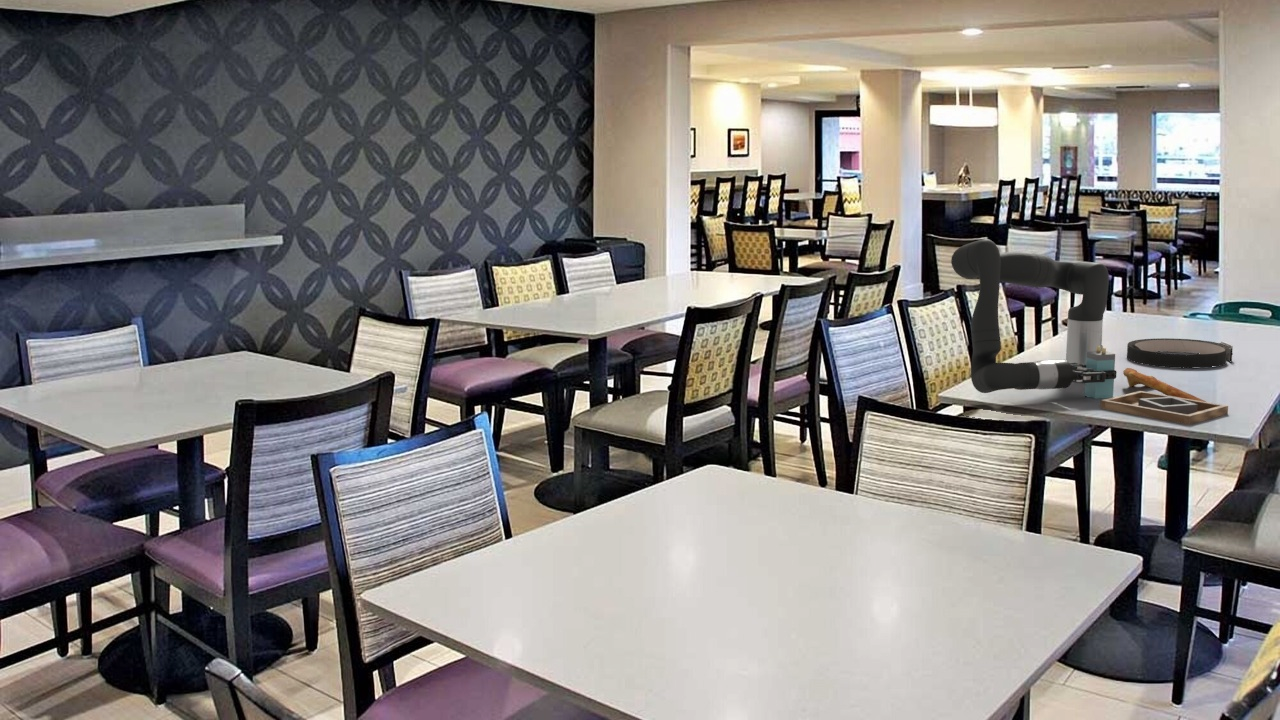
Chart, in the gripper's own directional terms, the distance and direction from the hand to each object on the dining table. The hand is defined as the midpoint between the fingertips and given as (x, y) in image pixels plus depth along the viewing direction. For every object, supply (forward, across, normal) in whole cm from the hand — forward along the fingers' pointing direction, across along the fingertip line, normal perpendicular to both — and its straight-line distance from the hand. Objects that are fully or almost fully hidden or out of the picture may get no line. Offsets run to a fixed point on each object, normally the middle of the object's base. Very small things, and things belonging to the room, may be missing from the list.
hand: (1106, 371), depth 299 cm
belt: (+51, +42, +8) cm, 67 cm away
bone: (+13, -4, +8) cm, 16 cm away
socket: (+4, -20, +6) cm, 22 cm away
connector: (-2, 0, +7) cm, 7 cm away
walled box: (+3, -20, +7) cm, 21 cm away
